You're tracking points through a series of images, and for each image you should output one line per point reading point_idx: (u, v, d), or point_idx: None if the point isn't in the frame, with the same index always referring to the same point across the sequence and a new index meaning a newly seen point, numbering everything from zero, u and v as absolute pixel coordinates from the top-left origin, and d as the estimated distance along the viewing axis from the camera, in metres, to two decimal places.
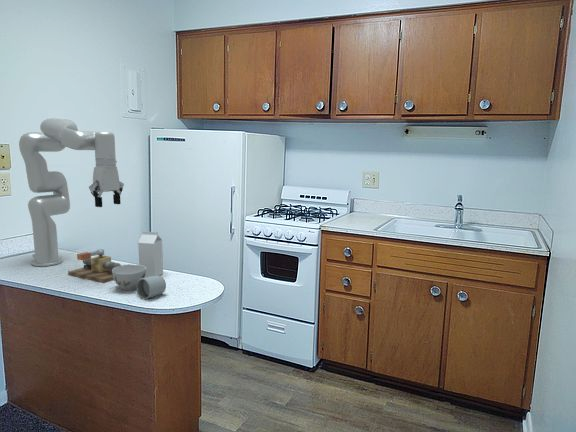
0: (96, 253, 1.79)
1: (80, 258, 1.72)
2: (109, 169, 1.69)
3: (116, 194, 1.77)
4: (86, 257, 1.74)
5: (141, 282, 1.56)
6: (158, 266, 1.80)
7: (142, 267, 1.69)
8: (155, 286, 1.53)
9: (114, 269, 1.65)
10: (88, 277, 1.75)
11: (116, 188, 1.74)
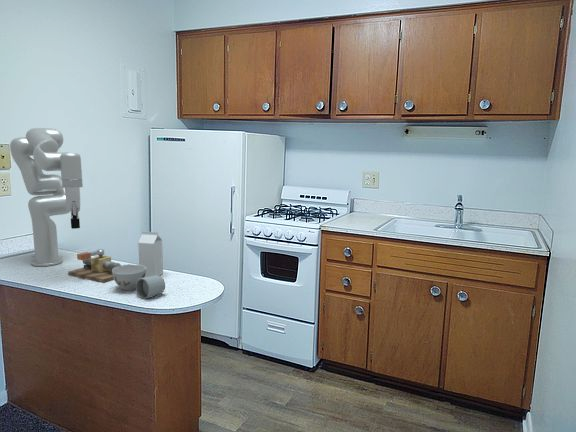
0: (96, 253, 1.79)
1: (80, 258, 1.72)
2: (79, 189, 1.74)
3: None
4: (86, 257, 1.74)
5: (140, 282, 1.56)
6: (158, 266, 1.80)
7: (142, 267, 1.69)
8: (154, 286, 1.54)
9: (114, 269, 1.65)
10: (88, 277, 1.75)
11: None
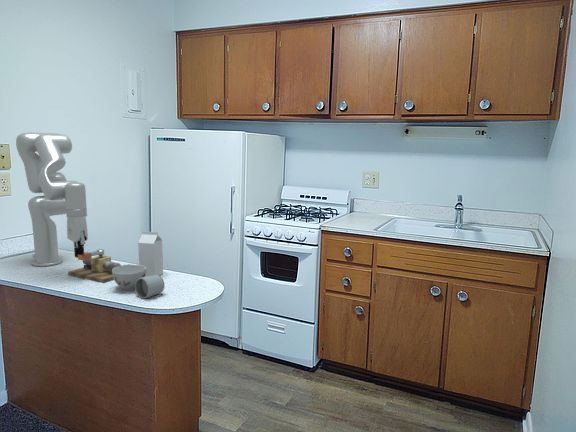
0: (96, 253, 1.79)
1: (81, 258, 1.72)
2: None
3: None
4: (87, 257, 1.74)
5: (140, 282, 1.57)
6: (158, 266, 1.80)
7: (142, 267, 1.69)
8: (153, 286, 1.54)
9: (114, 269, 1.65)
10: (88, 277, 1.75)
11: None
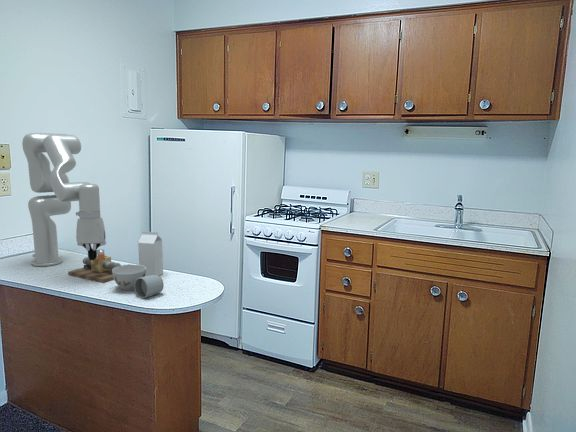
0: None
1: (103, 258, 1.73)
2: None
3: (91, 247, 1.72)
4: None
5: (139, 281, 1.57)
6: (158, 266, 1.80)
7: (142, 267, 1.69)
8: (153, 285, 1.54)
9: (114, 269, 1.65)
10: (88, 277, 1.75)
11: None
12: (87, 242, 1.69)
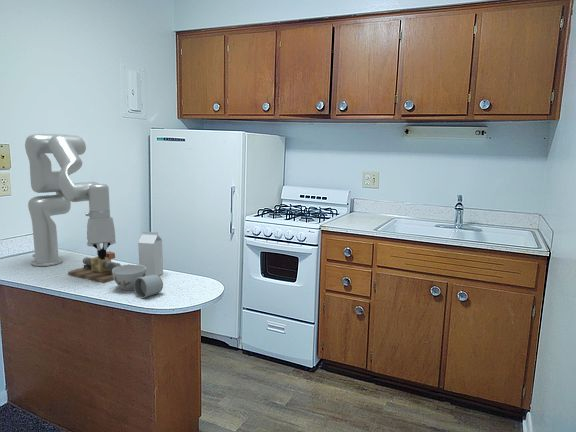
0: None
1: (113, 256, 1.76)
2: None
3: None
4: None
5: (138, 281, 1.57)
6: (158, 266, 1.80)
7: (142, 267, 1.69)
8: (152, 285, 1.54)
9: (114, 269, 1.65)
10: (88, 277, 1.75)
11: None
12: (100, 242, 1.70)
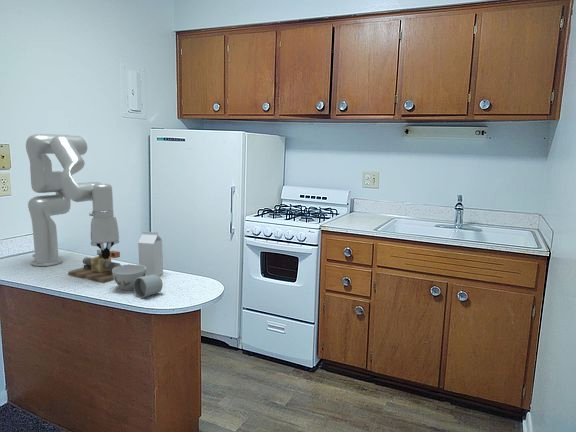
0: None
1: (118, 255, 1.78)
2: None
3: None
4: None
5: (138, 281, 1.57)
6: (158, 266, 1.80)
7: (142, 267, 1.69)
8: (152, 285, 1.54)
9: (114, 269, 1.65)
10: (88, 277, 1.75)
11: None
12: (104, 241, 1.71)
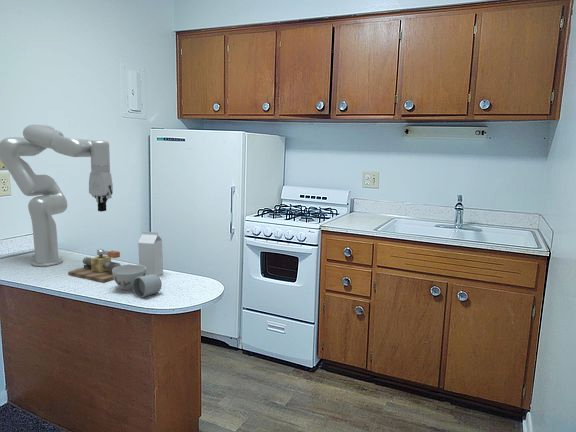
0: None
1: (118, 255, 1.78)
2: None
3: None
4: None
5: (137, 281, 1.58)
6: (158, 266, 1.80)
7: (142, 267, 1.69)
8: (151, 285, 1.55)
9: (114, 269, 1.65)
10: (88, 277, 1.75)
11: None
12: (95, 194, 1.84)
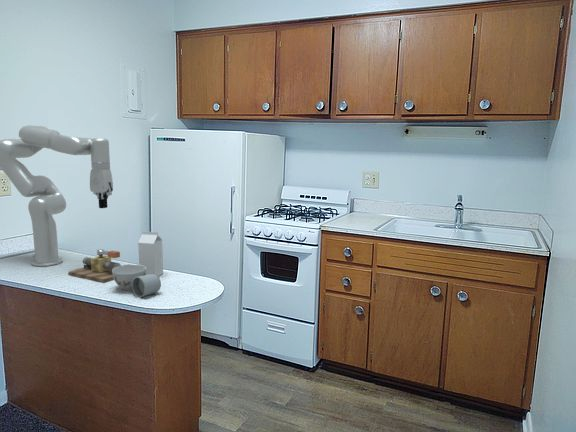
0: None
1: (118, 255, 1.78)
2: None
3: None
4: None
5: (136, 280, 1.58)
6: (158, 266, 1.80)
7: (142, 267, 1.69)
8: (150, 284, 1.55)
9: (114, 269, 1.65)
10: (88, 277, 1.75)
11: None
12: (95, 191, 1.87)
